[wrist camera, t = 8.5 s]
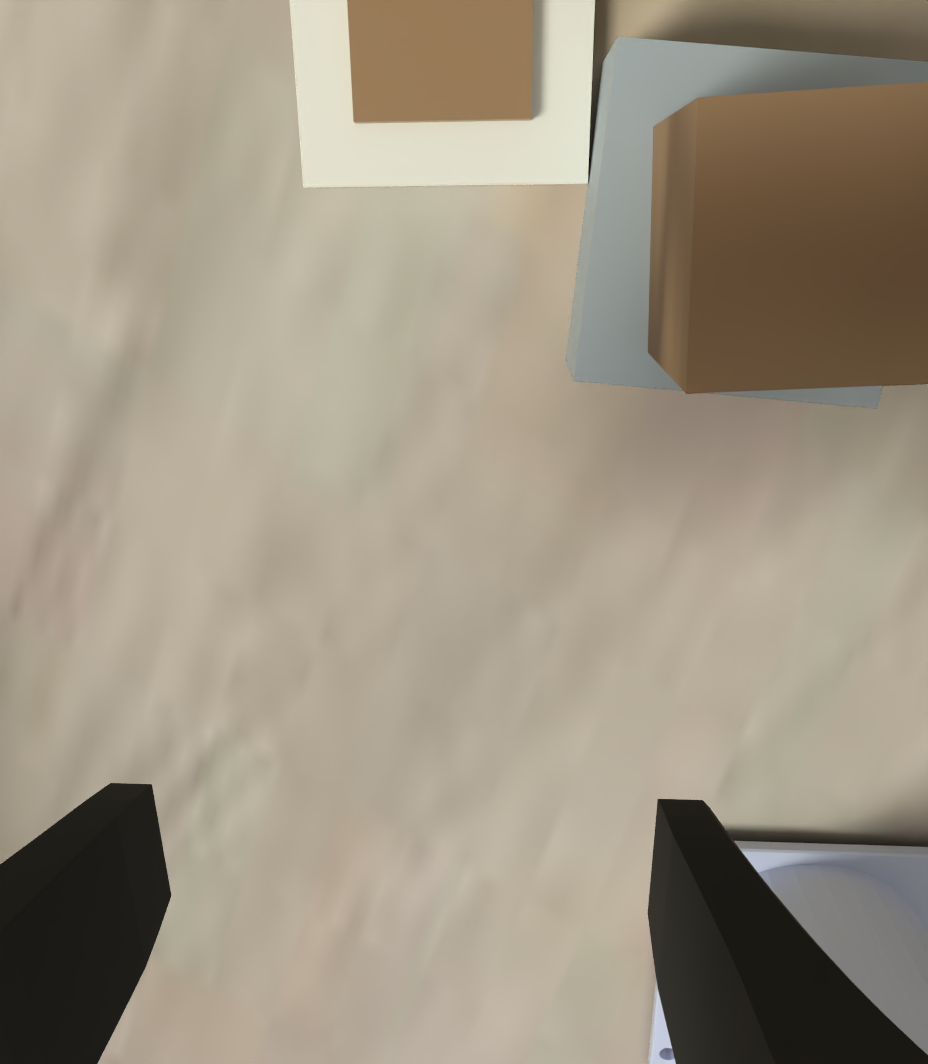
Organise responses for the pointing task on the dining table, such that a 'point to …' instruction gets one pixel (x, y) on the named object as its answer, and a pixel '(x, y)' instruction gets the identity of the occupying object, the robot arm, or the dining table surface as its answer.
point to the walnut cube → (791, 240)
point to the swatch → (443, 91)
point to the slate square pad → (626, 190)
